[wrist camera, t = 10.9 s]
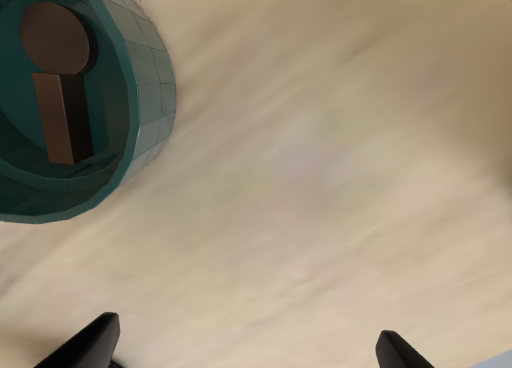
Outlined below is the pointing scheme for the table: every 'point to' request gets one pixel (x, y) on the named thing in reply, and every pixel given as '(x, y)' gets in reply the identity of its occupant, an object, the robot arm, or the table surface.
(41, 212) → the bucket
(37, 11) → the spoon
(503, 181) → the table surface
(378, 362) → the robot arm
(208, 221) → the table surface
